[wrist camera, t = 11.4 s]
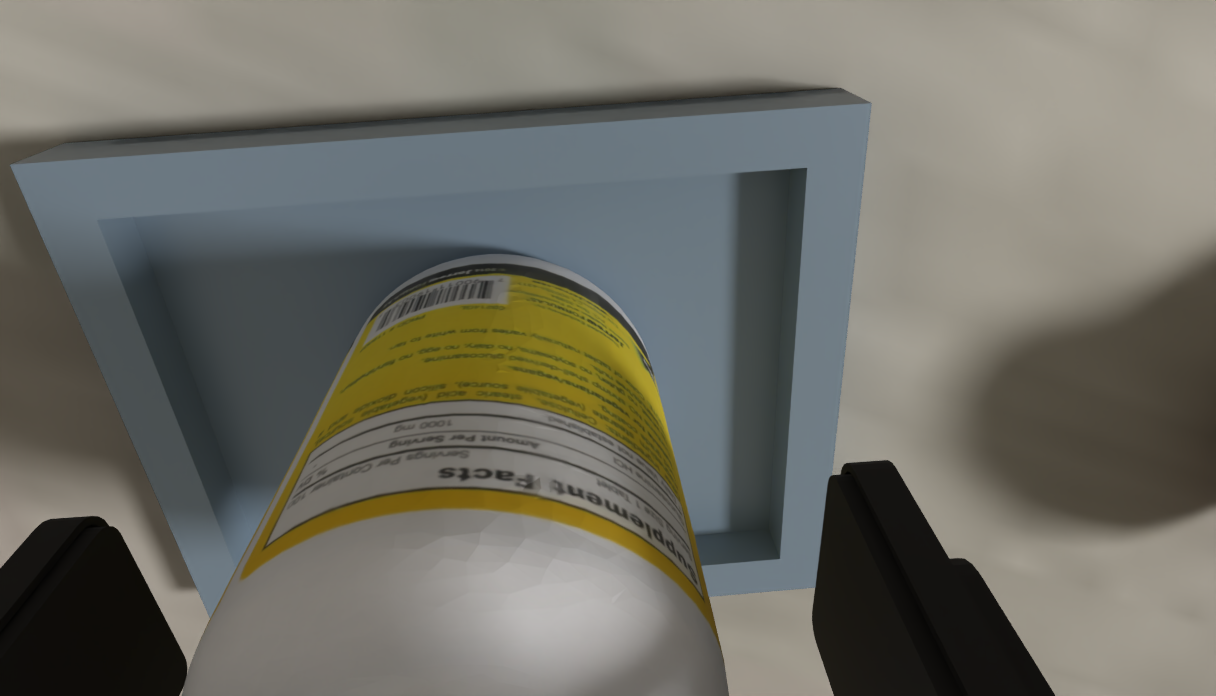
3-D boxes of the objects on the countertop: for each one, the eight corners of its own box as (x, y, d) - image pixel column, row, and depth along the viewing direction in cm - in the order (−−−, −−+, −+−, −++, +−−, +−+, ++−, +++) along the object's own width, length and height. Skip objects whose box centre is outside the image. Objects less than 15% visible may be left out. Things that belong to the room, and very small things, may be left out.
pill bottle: (537, 541, 18) (510, 1268, 8) (297, 407, 16) (-139, 1176, 6) (715, 358, 16) (976, 1039, 6) (467, 177, 13) (231, 767, 4)
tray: (64, 143, 13) (9, 164, 12) (841, 88, 14) (871, 102, 12) (243, 589, 18) (219, 639, 17) (801, 542, 19) (820, 586, 18)
